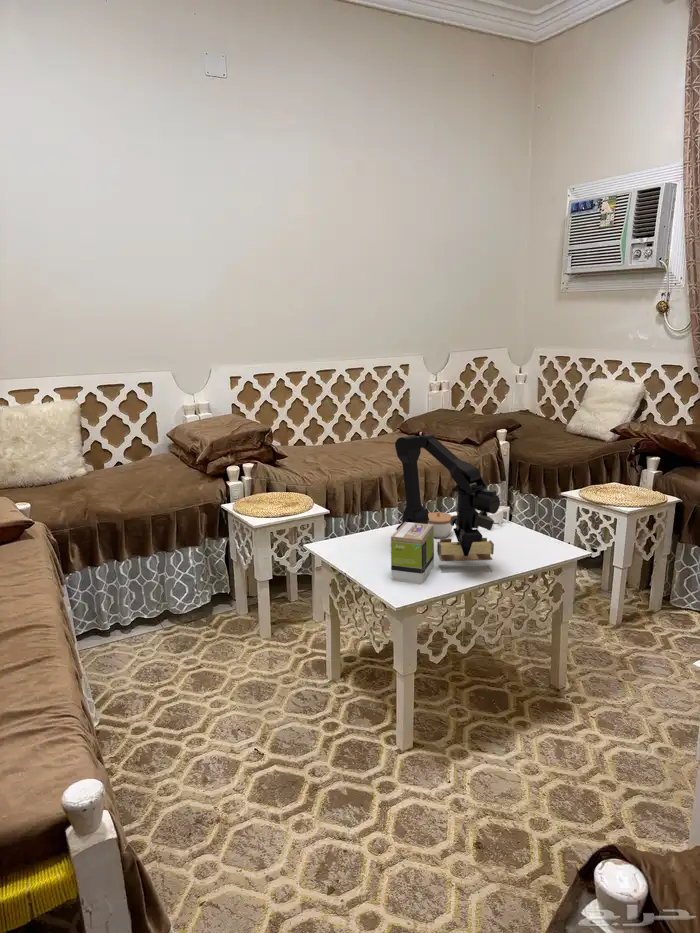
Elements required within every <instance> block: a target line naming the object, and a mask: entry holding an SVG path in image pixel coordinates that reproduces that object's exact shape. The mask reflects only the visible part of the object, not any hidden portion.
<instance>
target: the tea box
mask: <svg viewBox="0 0 700 933" xmlns="http://www.w3.org/2000/svg"><path fill="white" fill-rule="evenodd" d="M390 538H391V539H390V556H391V557H390V559H391V561H390V564H391V565H390V566H391V571H390V573H391V574H390V576H391V580H392V581H396V582H397V581H398V582H403V583H411V584H418V585H423V583H424V582H425V580H426V579H427V577H428V576H429V574H430V573H431V572H432V571H433V568H435V544H434V543H435V538H434V525H433V524H421V523H410V522H404V523H403V524H402V526H401V527H400V528H399V529H398V530H395V532H394V533H393V534H392V535H391V537H390Z"/></svg>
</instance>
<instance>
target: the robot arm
mask: <svg viewBox="0 0 700 933" xmlns="http://www.w3.org/2000/svg"><path fill="white" fill-rule="evenodd" d="M394 447H395V452H396V455H397V458H398V460H399V461H400V462H401V465H402V474H403V483H404V484H403V485H404V494H405V496H404V497H405V504H406V505H405V507H404V511H403V513H402V522H401V523H400V524H399V525H398V526H397V527H396V528H395V529H396V530H395V531H397V530H398V529H399V528H400V527H401V526H402V524H403V523H404V522H410V523H421V524H428V520H429V517H428V513H429V510H428V508H425V507H424V506H423V504H422V500H421V499H422V498H421V490H420V489H421V488H420V479H419V471H418V470H419V469H418V460H419V458H420V457H421V456H420V455H421V449H424V450H425V451H426V452H428V453H429V454H430V455H431V456H432V457H433V458H434V459H436V461H438V462H439V463H440V464H441V465H442V466H443V467H444V468H445V469H446V470H447V471H448V472H449V474H450V475H449V476H450V477H451V479H452V480H453V481H454V482H455V484H456V485H455V486H454V487H453V488H452V489H451V491H452V492H455V493H457V500H456V501H457V502H456V503H457V504H456V505H457V507H455V512H456V515H455V514H454V515H452V517H451V522H450V524H451V525H452V527H454V526H455V527H454V528H452V530H453V532H454V534H455V536H456V537H455V538H456V539H457V542H460V545H461V548H462V551H463V553H464V556H468V554H469V551H470V548H471V545H472V543H473V542H482V538H483V534H482V532H481V531H478V530H477V529H476V528H478V526H479V527H480V528H483V529H486V531H490V530H491V528H492V529H493V525H494V524H495V523H494V520H493V519H492V518H490V517H489V516H487V512H488V513H492V514H495V513H496V512H497V511H498V509H499V506H501V500H500V497H499V496H498V495H497V491H496V490H493V489H491V490H489V489H488V487H487V485H486V483H485V481H484V479H483V478H482V476H481V471H480V470H479V468H478V467H476V466H475V465H473V464H471V463H469V461H468V462H467V461H464V460H462V459H460V458H459V457H458V456H457V455H455V454H454V453H453V452H452V451H451V450H450V449H448V448H447V447H446V446H445V445H444V444H443V443H442V442H441V441H439V440H438V439H437V437H436V436H435V435H434V434H431V433H429V434H425V435H422V436H417V435H415V434H411V435H406V436H401V437H398V438H397V439H396V441H395V442H394ZM476 510H480V512H477V511H476Z"/></svg>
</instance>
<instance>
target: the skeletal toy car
mask: <svg viewBox="0 0 700 933" xmlns="http://www.w3.org/2000/svg"><path fill="white" fill-rule="evenodd" d="M510 510H511V509H510V506H503V505H502V506H501V505H500V506H499V509H498V511H497V512H496V513H495V514H492V513H488V512H487V516H489V517H490V518H492V519H493V520H494V524H498V526H499V527H502V523H503V522H504V513H506V523H508V522H509V520H510ZM476 511H477V512H478V513H479V512H480V510H476ZM509 523H510V522H509ZM509 523H508V524H509ZM475 529H477V530H478V531H479V526H478V528H475ZM489 531H491V532H492V531H493V527H492V528H491V530H489ZM479 532H480V533H483V532H485V531H482V530H481V531H479Z"/></svg>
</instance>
